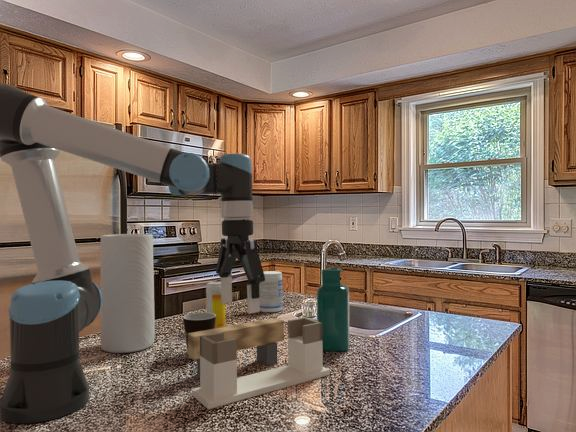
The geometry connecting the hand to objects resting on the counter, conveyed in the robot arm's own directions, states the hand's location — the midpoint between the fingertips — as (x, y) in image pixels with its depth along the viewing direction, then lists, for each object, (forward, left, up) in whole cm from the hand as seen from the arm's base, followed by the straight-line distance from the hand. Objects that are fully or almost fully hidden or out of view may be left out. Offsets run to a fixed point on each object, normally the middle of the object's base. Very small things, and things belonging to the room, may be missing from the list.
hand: (239, 307), depth 103 cm
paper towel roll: (-17, +34, -15) cm, 41 cm away
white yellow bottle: (+11, +36, -15) cm, 40 cm away
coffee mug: (-2, +17, -15) cm, 23 cm away
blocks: (0, 0, -15) cm, 15 cm away
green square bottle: (+29, -1, -15) cm, 32 cm away
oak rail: (0, 0, -10) cm, 10 cm away
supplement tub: (+40, +49, -15) cm, 65 cm away
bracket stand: (0, -12, -15) cm, 19 cm away
